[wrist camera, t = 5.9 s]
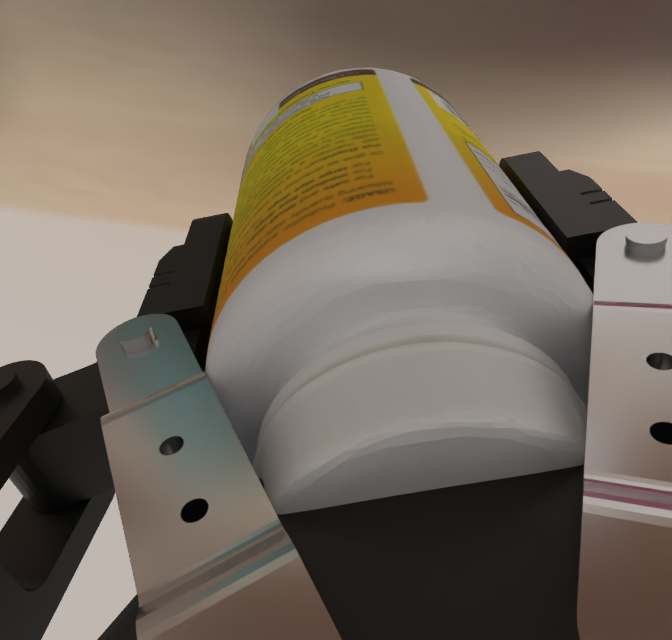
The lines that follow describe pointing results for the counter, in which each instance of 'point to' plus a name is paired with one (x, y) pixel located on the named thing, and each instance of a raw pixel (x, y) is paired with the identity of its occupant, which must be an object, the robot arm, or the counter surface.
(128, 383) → the robot arm
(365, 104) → the supplement bottle
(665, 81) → the counter surface
